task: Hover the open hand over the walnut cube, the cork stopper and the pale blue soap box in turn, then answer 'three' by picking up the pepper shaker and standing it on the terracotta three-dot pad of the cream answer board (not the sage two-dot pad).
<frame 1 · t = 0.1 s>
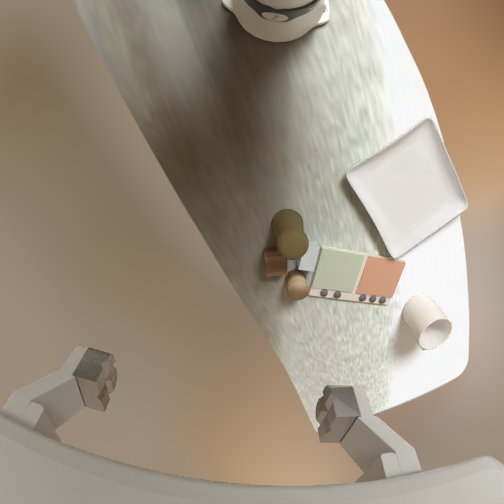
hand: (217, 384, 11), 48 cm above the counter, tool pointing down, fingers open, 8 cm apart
walnut cube: (275, 256, 62), on the counter
cork stopper: (295, 278, 64), on the counter
mug: (415, 312, 68), on the counter
answer board: (357, 276, 63), on the counter
salad plate: (407, 186, 56), on the counter
soap box: (306, 252, 61), on the counter
pepper shaker: (287, 224, 59), on the counter
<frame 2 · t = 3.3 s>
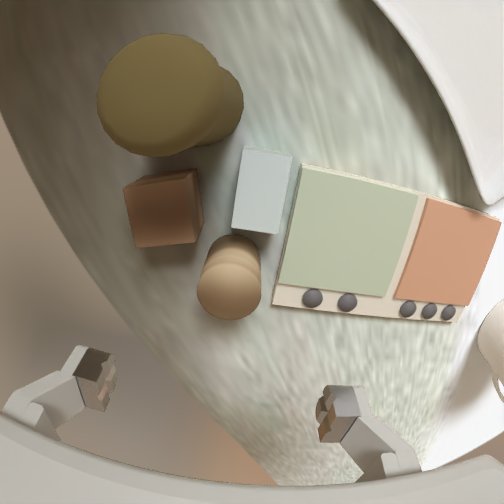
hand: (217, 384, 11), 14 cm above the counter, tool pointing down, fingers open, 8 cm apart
walnut cube: (173, 198, 22), on the counter
cork stopper: (233, 259, 24), on the counter
mug: (496, 333, 28), on the counter
answer board: (397, 255, 24), on the counter
salad plate: (487, 45, 16), on the counter
soap box: (260, 183, 22), on the counter
pepper shaker: (199, 104, 20), on the counter
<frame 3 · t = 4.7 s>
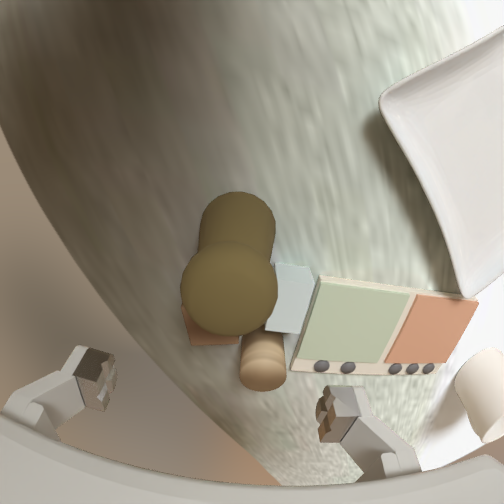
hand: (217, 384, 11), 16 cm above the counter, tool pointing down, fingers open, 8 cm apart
walnut cube: (215, 298, 28), on the counter
cork stopper: (262, 340, 30), on the counter
mug: (472, 375, 34), on the counter
answer board: (389, 332, 30), on the counter
salad plate: (492, 150, 22), on the counter
soap box: (286, 289, 28), on the counter
pepper shaker: (238, 227, 25), on the counter
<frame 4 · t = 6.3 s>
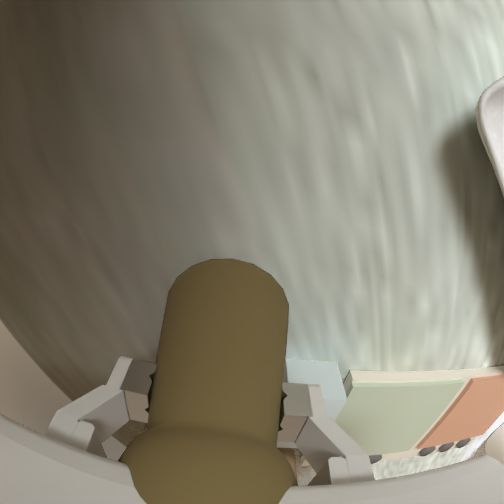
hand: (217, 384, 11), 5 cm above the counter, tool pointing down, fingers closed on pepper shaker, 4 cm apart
mug: (503, 433, 24), on the counter
answer board: (428, 417, 20), on the counter
soap box: (300, 387, 18), on the counter
pepper shaker: (227, 312, 15), on the counter, touching gripper
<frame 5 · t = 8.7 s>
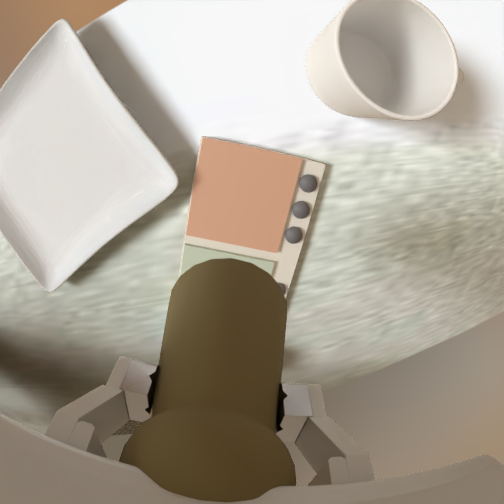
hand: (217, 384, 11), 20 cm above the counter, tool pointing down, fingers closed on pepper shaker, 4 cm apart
mug: (367, 74, 24), on the counter
answer board: (241, 246, 30), on the counter
salad plate: (57, 159, 27), on the counter
pepper shaker: (227, 309, 16), point 15 cm above the counter, touching gripper
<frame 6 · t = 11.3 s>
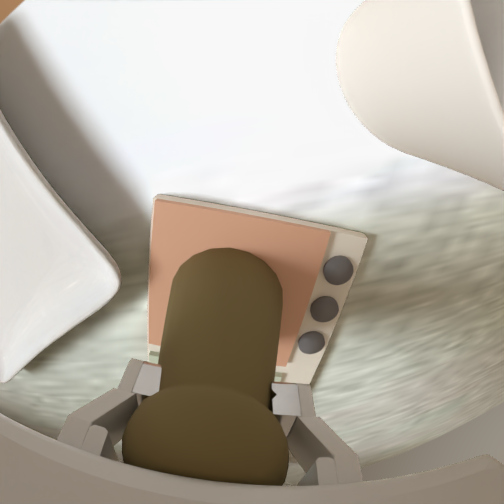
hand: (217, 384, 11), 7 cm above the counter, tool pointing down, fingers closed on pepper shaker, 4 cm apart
mug: (433, 79, 13), on the counter
answer board: (233, 352, 20), on the counter
pepper shaker: (226, 297, 17), point 1 cm above the counter, touching answer board, gripper
when the fingers open (7 cm above the counter, at t = 11.5 s): pepper shaker stays where it is, resting on answer board.
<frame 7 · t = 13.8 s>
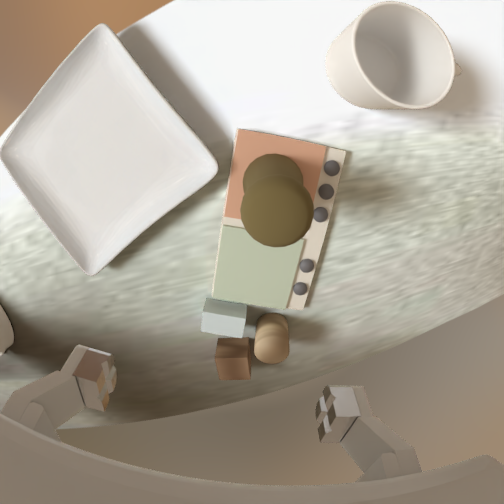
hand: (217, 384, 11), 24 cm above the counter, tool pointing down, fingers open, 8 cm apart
walnut cube: (235, 348, 41), on the counter
cork stopper: (272, 325, 39), on the counter
mug: (378, 71, 26), on the counter
answer board: (273, 226, 34), on the counter
salad plate: (99, 151, 31), on the counter
soap box: (225, 310, 39), on the counter
pepper shaker: (273, 183, 31), point 1 cm above the counter, touching answer board
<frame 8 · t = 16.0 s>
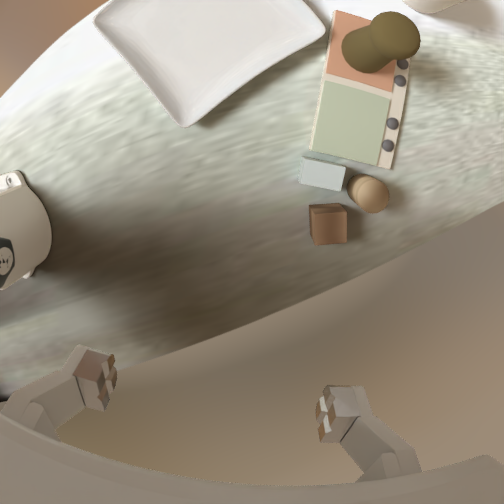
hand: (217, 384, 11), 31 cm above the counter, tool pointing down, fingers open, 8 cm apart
walnut cube: (324, 218, 41), on the counter
cork stopper: (361, 188, 39), on the counter
answer board: (363, 88, 34), on the counter
salad plate: (205, 21, 31), on the counter
soap box: (318, 171, 38), on the counter
pepper shaker: (364, 51, 31), point 1 cm above the counter, touching answer board
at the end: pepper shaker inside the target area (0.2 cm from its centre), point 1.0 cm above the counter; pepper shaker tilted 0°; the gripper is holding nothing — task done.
